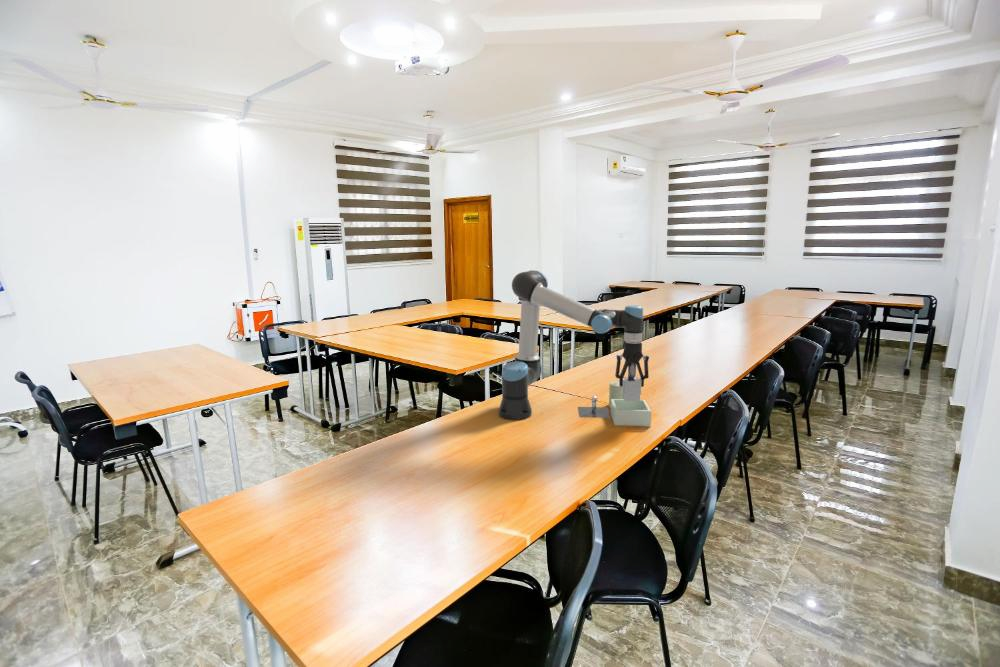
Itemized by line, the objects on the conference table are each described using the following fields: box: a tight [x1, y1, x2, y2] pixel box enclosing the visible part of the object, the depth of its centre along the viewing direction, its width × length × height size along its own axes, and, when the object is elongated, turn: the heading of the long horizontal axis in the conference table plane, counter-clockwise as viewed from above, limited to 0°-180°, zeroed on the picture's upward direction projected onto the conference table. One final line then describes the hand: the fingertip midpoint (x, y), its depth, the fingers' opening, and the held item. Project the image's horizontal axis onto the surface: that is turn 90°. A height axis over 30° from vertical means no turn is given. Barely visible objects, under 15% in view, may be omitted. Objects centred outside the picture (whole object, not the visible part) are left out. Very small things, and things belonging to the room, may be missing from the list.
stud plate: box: [577, 395, 612, 419], centre depth 227 cm, size 14×14×8 cm
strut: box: [623, 363, 641, 401], centre depth 215 cm, size 6×6×16 cm
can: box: [608, 380, 623, 408], centre depth 235 cm, size 9×9×12 cm
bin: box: [610, 399, 652, 428], centre depth 218 cm, size 15×15×7 cm
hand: (631, 393), depth 216 cm, fingers closed on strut, 6 cm apart
